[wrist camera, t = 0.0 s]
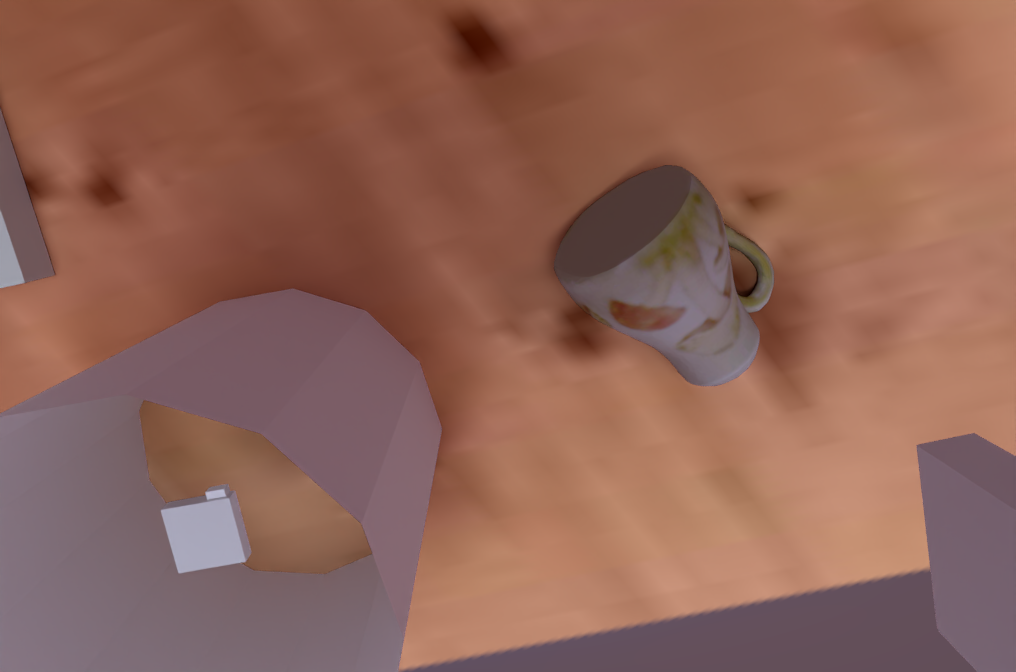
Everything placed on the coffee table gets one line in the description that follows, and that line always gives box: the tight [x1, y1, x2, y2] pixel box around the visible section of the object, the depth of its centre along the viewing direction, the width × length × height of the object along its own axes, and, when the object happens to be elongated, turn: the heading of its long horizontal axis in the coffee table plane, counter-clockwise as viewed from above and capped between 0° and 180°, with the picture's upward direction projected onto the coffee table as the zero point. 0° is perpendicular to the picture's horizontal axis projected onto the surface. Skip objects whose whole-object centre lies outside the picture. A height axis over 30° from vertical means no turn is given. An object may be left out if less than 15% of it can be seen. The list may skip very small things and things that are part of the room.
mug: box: [554, 165, 774, 386], centre depth 36 cm, size 8×10×10 cm
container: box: [0, 289, 442, 672], centre depth 31 cm, size 14×14×18 cm
